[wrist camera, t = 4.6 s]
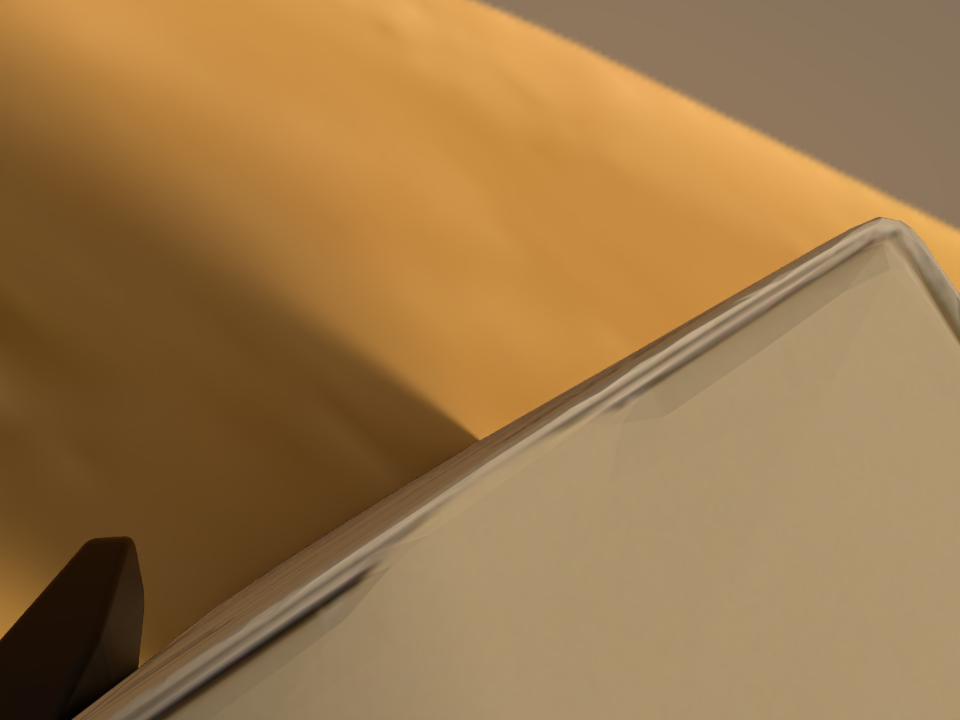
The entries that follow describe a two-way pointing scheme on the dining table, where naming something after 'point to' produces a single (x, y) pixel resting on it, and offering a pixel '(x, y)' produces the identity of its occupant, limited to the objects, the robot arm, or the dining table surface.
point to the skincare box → (647, 537)
